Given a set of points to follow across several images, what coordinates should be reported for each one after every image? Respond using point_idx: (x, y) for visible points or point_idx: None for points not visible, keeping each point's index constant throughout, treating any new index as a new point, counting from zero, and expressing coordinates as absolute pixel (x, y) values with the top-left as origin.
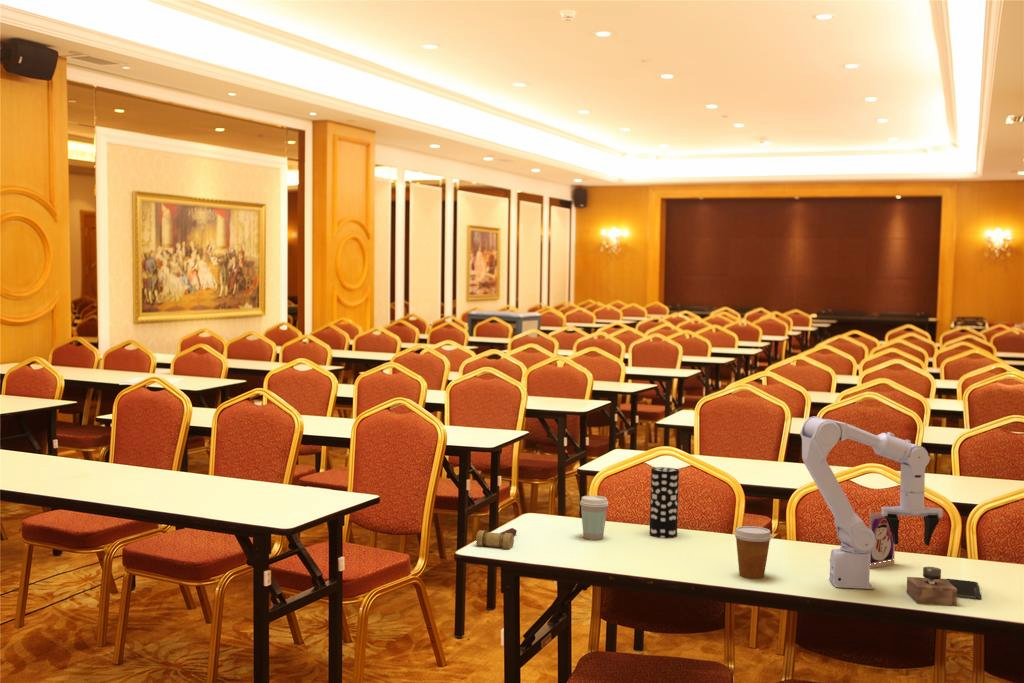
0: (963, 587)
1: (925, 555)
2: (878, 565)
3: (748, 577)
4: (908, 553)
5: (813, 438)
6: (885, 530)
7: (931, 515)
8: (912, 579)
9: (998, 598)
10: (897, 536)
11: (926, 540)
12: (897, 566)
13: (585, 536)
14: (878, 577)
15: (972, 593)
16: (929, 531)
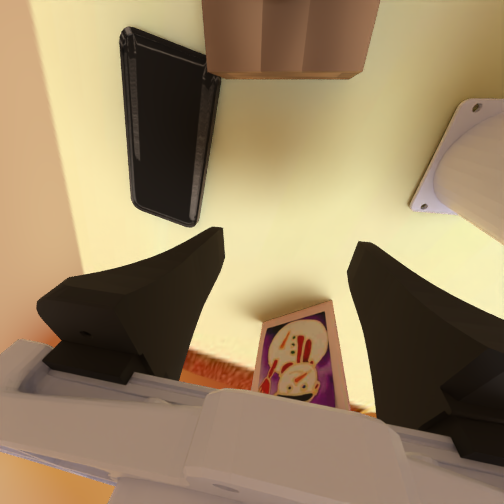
0: (163, 156)
1: (201, 347)
2: (300, 312)
3: None
4: (223, 355)
5: None
6: (282, 386)
7: (95, 371)
8: (364, 9)
9: (82, 69)
10: (383, 261)
11: (216, 242)
12: (262, 310)
13: None
14: (344, 245)
15: (143, 84)
16: (182, 255)
